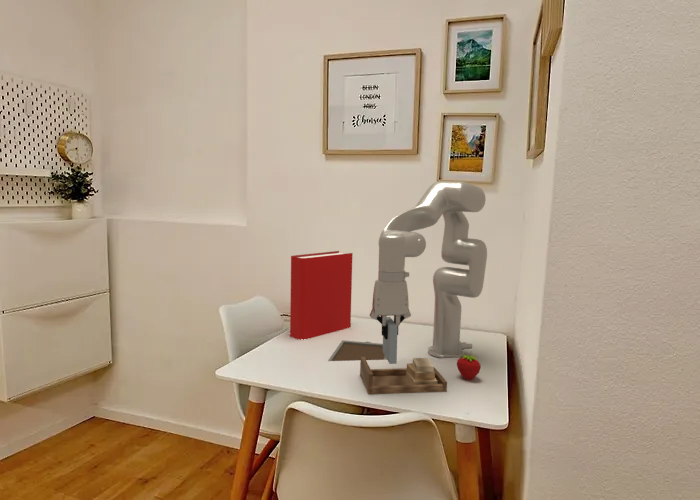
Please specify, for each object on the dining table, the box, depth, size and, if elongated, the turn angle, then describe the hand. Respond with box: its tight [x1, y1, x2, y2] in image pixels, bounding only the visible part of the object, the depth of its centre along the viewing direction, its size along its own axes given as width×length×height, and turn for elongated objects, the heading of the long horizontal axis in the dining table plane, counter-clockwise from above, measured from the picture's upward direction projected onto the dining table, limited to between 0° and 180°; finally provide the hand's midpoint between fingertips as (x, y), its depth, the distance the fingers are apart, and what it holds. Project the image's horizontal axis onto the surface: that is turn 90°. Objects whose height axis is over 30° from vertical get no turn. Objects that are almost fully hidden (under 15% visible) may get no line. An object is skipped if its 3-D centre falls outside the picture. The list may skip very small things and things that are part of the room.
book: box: [289, 250, 353, 341], centre depth 196 cm, size 27×8×32 cm, turn 136°
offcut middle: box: [406, 362, 435, 381], centre depth 145 cm, size 6×8×2 cm
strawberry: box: [456, 349, 482, 381], centre depth 149 cm, size 6×8×10 cm
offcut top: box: [412, 357, 435, 373], centre depth 144 cm, size 5×7×2 cm
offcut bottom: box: [406, 371, 438, 385], centre depth 145 cm, size 7×9×2 cm
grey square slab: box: [382, 316, 399, 365], centre depth 142 cm, size 2×10×11 cm, turn 8°
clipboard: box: [327, 340, 388, 362], centre depth 170 cm, size 19×2×30 cm
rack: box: [359, 357, 448, 395], centre depth 144 cm, size 23×14×7 cm, turn 98°
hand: (389, 337), depth 142 cm, fingers closed on grey square slab, 2 cm apart
